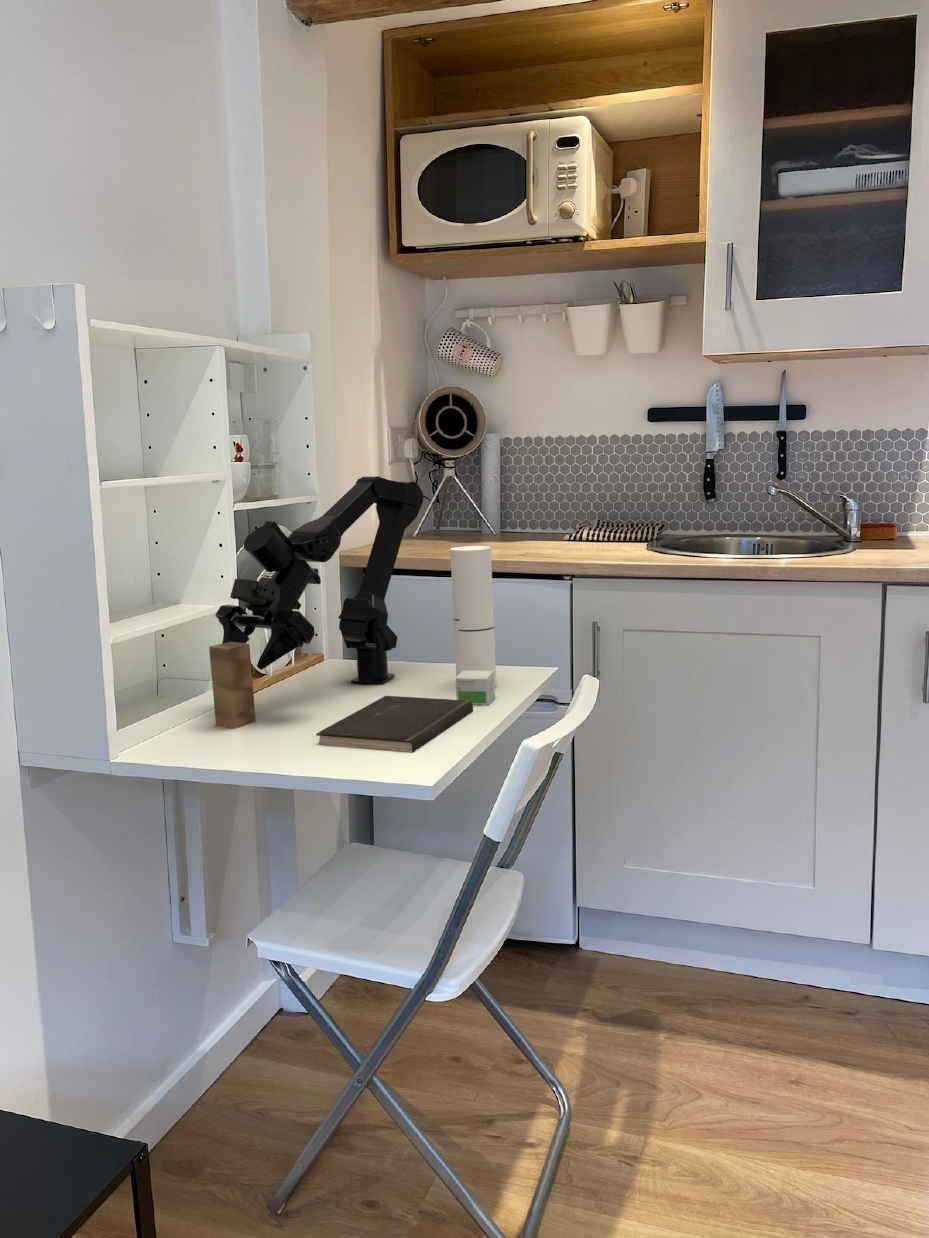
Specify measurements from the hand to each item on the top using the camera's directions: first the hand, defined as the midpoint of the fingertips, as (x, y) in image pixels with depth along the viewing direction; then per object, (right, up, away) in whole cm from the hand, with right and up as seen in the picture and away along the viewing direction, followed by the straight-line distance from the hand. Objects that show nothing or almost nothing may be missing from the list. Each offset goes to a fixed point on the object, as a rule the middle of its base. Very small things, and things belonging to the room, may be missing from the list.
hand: (239, 665), depth 167 cm
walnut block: (-1, -9, 0) cm, 9 cm away
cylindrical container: (+39, -5, +18) cm, 43 cm away
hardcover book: (+26, -10, -6) cm, 29 cm away
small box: (+39, -7, +8) cm, 40 cm away
